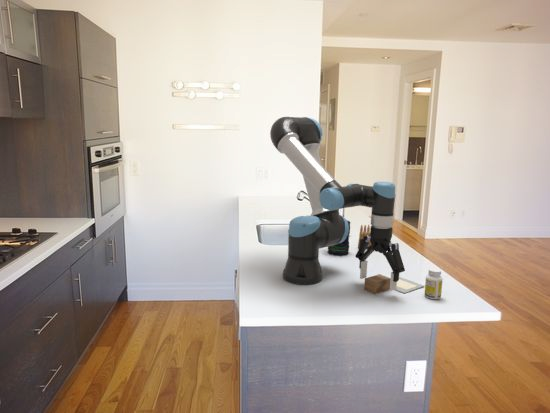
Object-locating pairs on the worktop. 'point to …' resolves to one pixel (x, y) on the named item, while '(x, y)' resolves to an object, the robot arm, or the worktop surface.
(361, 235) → the ammunition clip
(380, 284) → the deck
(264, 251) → the worktop surface
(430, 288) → the supplement bottle
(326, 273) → the worktop surface
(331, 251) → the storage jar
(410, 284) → the mat
